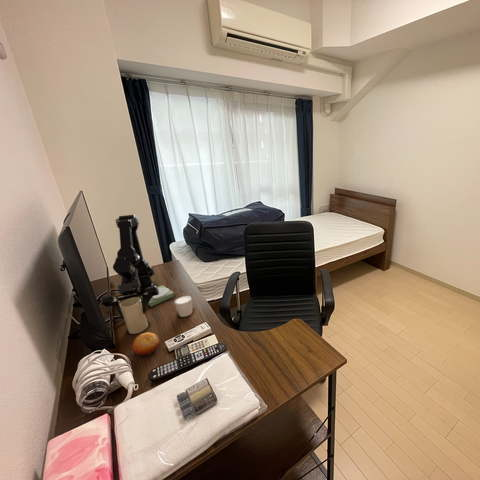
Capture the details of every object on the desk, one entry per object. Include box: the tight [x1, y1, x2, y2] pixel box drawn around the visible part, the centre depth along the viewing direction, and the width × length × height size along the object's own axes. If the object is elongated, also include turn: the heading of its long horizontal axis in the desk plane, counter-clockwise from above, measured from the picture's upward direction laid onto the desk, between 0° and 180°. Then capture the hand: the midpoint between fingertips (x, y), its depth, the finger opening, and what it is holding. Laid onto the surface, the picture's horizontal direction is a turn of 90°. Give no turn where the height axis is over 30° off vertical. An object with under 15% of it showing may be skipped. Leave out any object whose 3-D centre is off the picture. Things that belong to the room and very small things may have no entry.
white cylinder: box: [174, 295, 194, 318], centre depth 114 cm, size 7×7×7 cm
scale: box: [139, 285, 175, 308], centre depth 126 cm, size 12×11×3 cm
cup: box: [120, 297, 149, 335], centre depth 103 cm, size 7×7×13 cm
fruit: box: [131, 331, 160, 356], centre depth 93 cm, size 8×8×8 cm
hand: (133, 316), depth 102 cm, fingers closed on cup, 7 cm apart
